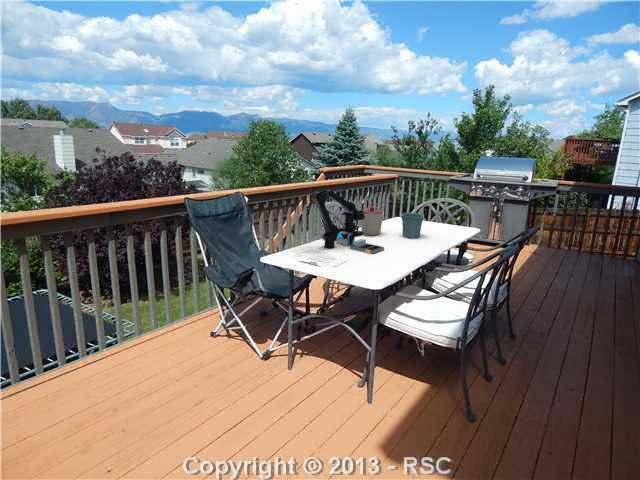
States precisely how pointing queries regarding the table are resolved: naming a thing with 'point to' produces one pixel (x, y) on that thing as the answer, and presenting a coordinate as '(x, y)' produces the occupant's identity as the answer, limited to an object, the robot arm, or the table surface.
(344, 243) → the panel
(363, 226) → the grey plant pot
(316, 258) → the tray
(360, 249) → the rack
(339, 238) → the book
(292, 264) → the table surface
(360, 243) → the fitted panel
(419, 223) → the flower pot
